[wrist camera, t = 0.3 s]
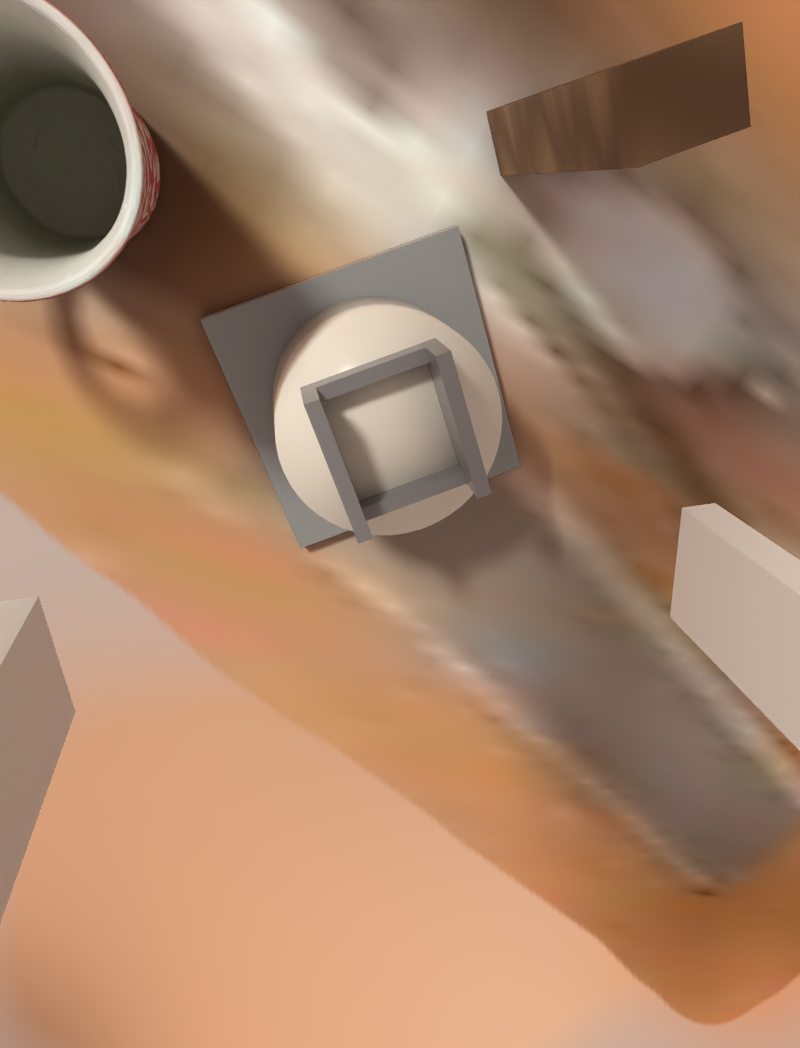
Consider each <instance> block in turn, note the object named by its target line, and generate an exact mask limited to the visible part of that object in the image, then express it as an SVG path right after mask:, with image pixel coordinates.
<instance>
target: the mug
mask: <svg viewBox="0 0 800 1048" xmlns="http://www.w3.org/2000/svg"><path fill="white" fill-rule="evenodd" d="M160 179H161V177H160V164H159V158H158V154H157V150H156V147H155V144H154V141H153V139H152V137H151V134H150V133H149V131H148V129H147V127H146V125H145V124H144V122H143V120H142V119H141V117H140V116H139V114H138V113H137V112H136V110H135V109H134V108H133V106H132V105H131V103H130V102H129V100H128V98H127V95H126V93H125V90H124V88H123V87H122V85H121V83H120V81H119V79H118V77H117V76H116V74H115V72H114V71H113V69H112V67H111V66H110V64H109V63H108V62H107V60H106V59H105V57H104V56H103V55H102V53H101V52H100V50H99V49H98V48H97V46H96V45H95V44H94V43H93V42H92V41H91V39H90V38H89V37H88V36H87V35H86V34H85V33H84V32H83V31H82V30H81V29H80V28H79V27H78V26H77V25H76V24H75V23H74V22H73V21H72V20H71V19H70V18H69V17H68V16H66V15H65V14H64V13H63V12H62V11H60V10H59V9H58V8H56V7H55V6H54V5H53V4H51V3H50V2H48V1H47V0H0V301H11V302H28V301H37V300H43V299H49V298H53V297H57V296H60V295H63V294H66V293H69V292H71V291H74V290H76V289H78V288H80V287H82V286H83V285H85V284H87V283H88V282H90V281H91V280H93V279H94V278H96V277H97V276H98V275H99V274H101V273H102V272H103V271H104V270H105V269H106V268H108V267H109V266H110V265H111V263H112V262H113V261H114V260H115V259H116V258H117V257H118V255H119V254H120V252H121V251H122V250H123V248H124V247H125V245H126V244H127V242H128V241H129V240H130V239H131V238H132V237H133V236H135V235H136V234H137V233H138V232H139V231H140V230H141V229H142V228H143V227H144V225H145V224H146V223H147V221H148V219H149V218H150V216H151V215H152V213H153V212H154V209H155V205H156V202H157V200H158V196H159V190H160Z"/></svg>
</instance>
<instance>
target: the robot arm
mask: <svg viewBox="0 0 800 1048" xmlns="http://www.w3.org/2000/svg"><path fill="white" fill-rule="evenodd" d="M670 618H671V619H672V620H673V621H674V622H675V623H676V624H677V625H678V626H679V627H680V628H681V629H682V630H683V631H684V632H685V633H686V634H687V635H688V636H689V637H690V638H691V639H692V640H693V641H694V642H695V643H696V644H697V646H698V647H699V648H700V649H701V650H702V651H703V652H704V653H705V654H706V655H707V656H708V657H709V658H710V659H711V660H712V661H713V662H714V663H715V664H716V665H717V666H718V667H719V668H720V669H721V670H722V671H723V672H724V673H725V674H726V675H727V676H728V677H729V678H730V679H731V681H732V682H733V683H734V684H735V685H736V686H737V687H738V688H739V689H740V690H741V691H742V692H743V693H744V694H745V695H746V696H747V697H748V698H749V699H750V700H751V701H752V702H753V703H754V704H755V705H756V706H757V707H758V708H759V709H760V710H761V711H762V712H763V713H764V714H765V716H766V717H767V718H768V719H769V720H770V721H771V722H772V723H773V724H774V725H775V726H776V727H777V728H778V729H779V730H780V731H781V732H782V733H783V734H784V735H785V736H786V737H787V738H788V739H789V740H790V741H791V742H792V743H793V744H794V745H795V746H796V747H797V748H798V749H799V751H800V560H799V559H797V558H796V557H794V556H793V555H791V554H790V553H788V552H787V551H785V550H784V549H782V548H781V547H779V546H778V545H776V544H775V543H773V542H772V541H770V540H769V539H768V538H766V537H765V536H763V535H762V534H760V533H759V532H757V531H756V530H754V529H753V528H751V527H750V526H748V525H747V524H745V523H744V522H742V521H741V520H739V519H738V518H737V517H735V516H734V515H732V514H731V513H729V512H728V511H726V510H725V509H723V508H722V507H720V506H719V505H717V504H716V503H712V504H705V505H697V506H690V507H683V508H682V513H681V522H680V531H679V540H678V549H677V558H676V567H675V576H674V585H673V594H672V603H671V612H670ZM74 713H75V709H74V706H73V703H72V700H71V697H70V693H69V691H68V687H67V684H66V681H65V678H64V675H63V672H62V669H61V666H60V662H59V659H58V656H57V653H56V650H55V647H54V643H53V640H52V637H51V634H50V631H49V628H48V625H47V622H46V618H45V615H44V612H43V609H42V606H41V603H40V600H39V597H38V596H37V597H29V598H21V599H14V600H7V601H0V922H1V919H2V916H3V914H4V911H5V908H6V905H7V902H8V900H9V897H10V894H11V891H12V888H13V885H14V883H15V880H16V877H17V874H18V871H19V869H20V866H21V863H22V860H23V857H24V854H25V852H26V849H27V846H28V843H29V840H30V838H31V835H32V832H33V829H34V826H35V823H36V820H37V818H38V815H39V812H40V809H41V806H42V804H43V801H44V798H45V795H46V792H47V790H48V787H49V784H50V781H51V778H52V775H53V773H54V769H55V767H56V764H57V761H58V759H59V756H60V753H61V750H62V747H63V744H64V742H65V739H66V736H67V733H68V730H69V728H70V725H71V722H72V719H73V716H74Z"/></svg>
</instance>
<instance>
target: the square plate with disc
mask: <svg viewBox="0 0 800 1048" xmlns="http://www.w3.org/2000/svg"><path fill="white" fill-rule="evenodd" d="M200 321H201V323H202V326H203V328H204V330H205V332H206V335H207V337H208V339H209V342H210V344H211V346H212V348H213V351H214V353H215V355H216V357H217V360H218V362H219V364H220V367H221V369H222V371H223V373H224V376H225V378H226V380H227V382H228V385H229V387H230V389H231V392H232V394H233V396H234V398H235V401H236V403H237V405H238V407H239V410H240V412H241V414H242V417H243V419H244V421H245V423H246V426H247V428H248V430H249V432H250V435H251V437H252V439H253V442H254V444H255V446H256V448H257V451H258V453H259V455H260V457H261V460H262V462H263V464H264V467H265V469H266V471H267V473H268V476H269V478H270V480H271V482H272V485H273V487H274V489H275V492H276V494H277V496H278V498H279V501H280V503H281V505H282V507H283V510H284V512H285V514H286V517H287V519H288V521H289V523H290V526H291V528H292V530H293V533H294V535H295V537H296V539H297V542H298V544H299V546H300V548H303V547H306V546H308V545H311V544H314V543H316V542H319V541H322V540H325V539H327V538H330V537H333V536H335V535H338V534H341V533H343V532H346V531H349V530H350V531H353V532H354V534H355V536H356V539H357V541H358V544H359V543H362V542H364V541H367V540H370V539H372V535H382V536H385V535H398V534H404V533H409V532H413V531H417V530H420V529H423V528H426V527H428V526H430V525H433V524H435V523H437V522H439V521H441V520H442V519H444V518H446V517H447V516H449V515H450V514H452V513H453V512H454V511H456V510H457V509H458V508H460V507H461V506H462V505H463V504H464V503H465V502H466V501H467V500H468V499H469V498H470V497H471V496H472V495H473V494H475V496H476V497H477V499H480V498H482V497H485V496H488V495H490V494H492V492H491V489H490V485H489V482H488V478H491V477H494V476H496V475H499V474H502V473H505V472H507V471H510V470H513V469H515V468H518V467H521V466H520V462H519V458H518V454H517V451H516V447H515V443H514V439H513V435H512V431H511V428H510V424H509V420H508V416H507V412H506V408H505V405H504V401H503V397H502V393H501V389H500V385H499V381H498V378H497V374H496V370H495V366H494V362H493V358H492V355H491V351H490V347H489V343H488V339H487V335H486V332H485V328H484V324H483V320H482V316H481V312H480V308H479V305H478V301H477V297H476V293H475V289H474V285H473V282H472V278H471V274H470V270H469V266H468V262H467V259H466V255H465V251H464V247H463V243H462V239H461V236H460V232H459V228H458V226H452V227H449V228H447V229H444V230H441V231H438V232H436V233H433V234H430V235H427V236H425V237H422V238H419V239H416V240H414V241H411V242H408V243H405V244H403V245H400V246H397V247H394V248H392V249H389V250H386V251H383V252H381V253H378V254H375V255H372V256H370V257H367V258H364V259H361V260H359V261H356V262H353V263H350V264H348V265H345V266H342V267H339V268H337V269H334V270H331V271H328V272H326V273H323V274H320V275H317V276H314V277H312V278H309V279H306V280H303V281H301V282H298V283H295V284H292V285H290V286H287V287H284V288H281V289H279V290H276V291H273V292H270V293H268V294H265V295H262V296H259V297H257V298H254V299H251V300H248V301H246V302H243V303H240V304H237V305H235V306H232V307H229V308H226V309H224V310H221V311H218V312H215V313H213V314H210V315H207V316H204V317H202V318H201V319H200Z"/></svg>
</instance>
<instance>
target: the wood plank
mask: <svg viewBox="0 0 800 1048" xmlns="http://www.w3.org/2000/svg"><path fill="white" fill-rule="evenodd" d="M487 117H488V121H489V125H490V130H491V134H492V139H493V143H494V147H495V152H496V156H497V161H498V165H499V169H500V174H501V176H508V175H524V174H540V173H556V172H572V171H588V170H604V169H621V168H637V167H640V166H643V165H646V164H649V163H651V162H654V161H657V160H660V159H662V158H665V157H668V156H671V155H673V154H676V153H679V152H682V151H684V150H687V149H690V148H693V147H695V146H698V145H701V144H704V143H706V142H709V141H712V140H715V139H717V138H720V137H723V136H726V135H728V134H731V133H734V132H737V131H740V130H742V129H745V128H748V127H751V125H750V113H749V100H748V88H747V75H746V63H745V50H744V38H743V25H742V22H740V23H737V24H734V25H731V26H729V27H726V28H723V29H720V30H717V31H714V32H711V33H709V34H706V35H703V36H700V37H697V38H694V39H691V40H688V41H686V42H683V43H680V44H677V45H674V46H671V47H668V48H666V49H663V50H660V51H657V52H654V53H651V54H648V55H646V56H643V57H640V58H637V59H634V60H631V61H628V62H626V63H623V64H620V65H617V66H614V67H611V68H608V69H606V70H603V71H600V72H597V73H594V74H591V75H588V76H586V77H583V78H580V79H577V80H574V81H571V82H568V83H566V84H563V85H560V86H557V87H554V88H552V89H549V90H546V91H543V92H540V93H538V94H535V95H532V96H529V97H527V98H524V99H521V100H518V101H515V102H513V103H510V104H507V105H504V106H501V107H499V108H496V109H493V110H490V111H488V112H487Z"/></svg>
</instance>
